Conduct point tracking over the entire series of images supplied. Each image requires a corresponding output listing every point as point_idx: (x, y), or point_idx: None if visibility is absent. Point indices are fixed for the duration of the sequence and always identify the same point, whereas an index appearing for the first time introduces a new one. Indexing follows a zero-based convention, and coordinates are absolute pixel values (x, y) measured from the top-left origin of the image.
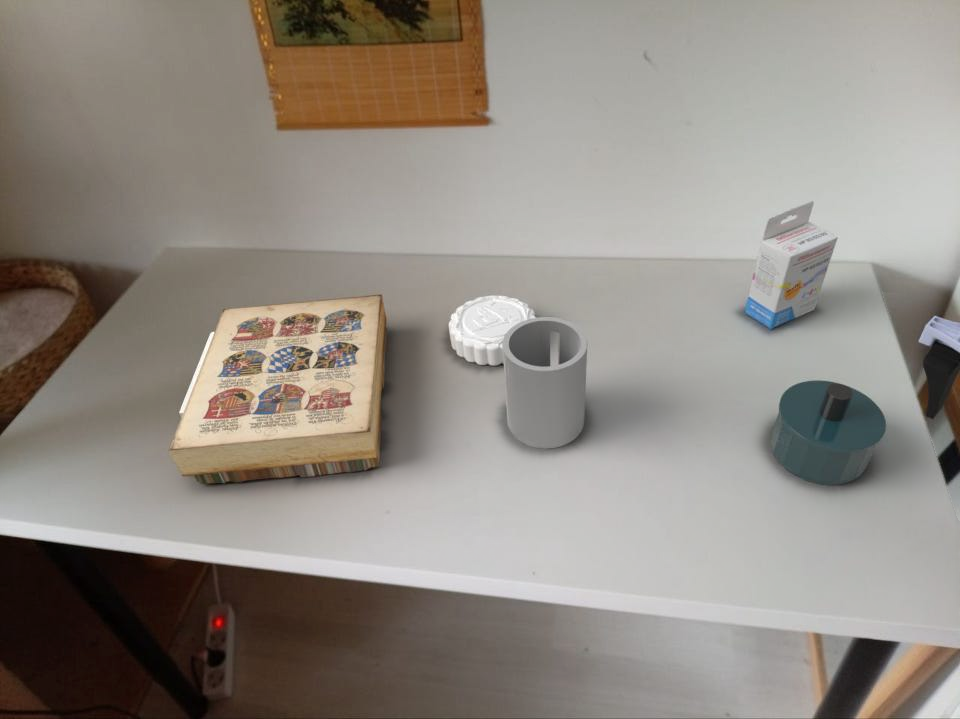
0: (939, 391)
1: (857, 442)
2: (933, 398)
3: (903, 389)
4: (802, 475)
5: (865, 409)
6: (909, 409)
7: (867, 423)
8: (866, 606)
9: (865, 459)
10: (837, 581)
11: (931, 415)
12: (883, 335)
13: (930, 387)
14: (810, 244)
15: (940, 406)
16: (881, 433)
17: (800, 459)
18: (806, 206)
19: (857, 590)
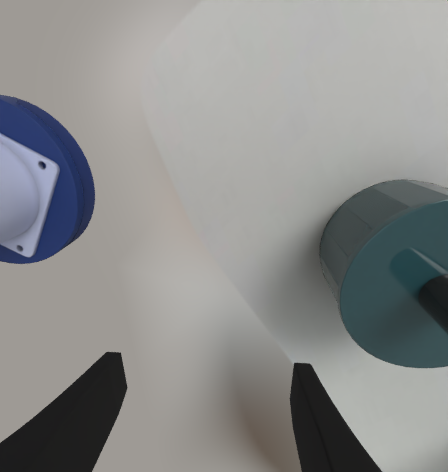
0: (339, 462)
1: (376, 254)
2: (333, 423)
3: None
4: (397, 181)
5: (386, 335)
6: None
7: (373, 308)
8: (220, 6)
9: (334, 253)
10: (273, 17)
11: (302, 370)
12: None
13: (371, 465)
14: None
15: (298, 403)
16: (344, 300)
17: (430, 187)
18: None
19: (243, 26)
